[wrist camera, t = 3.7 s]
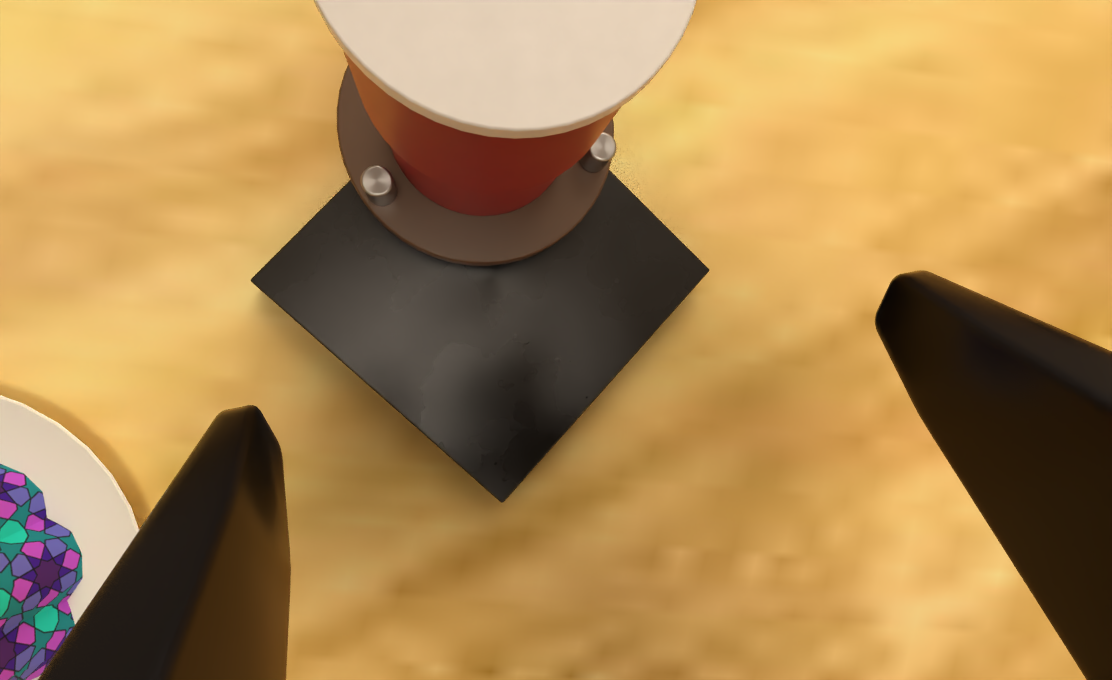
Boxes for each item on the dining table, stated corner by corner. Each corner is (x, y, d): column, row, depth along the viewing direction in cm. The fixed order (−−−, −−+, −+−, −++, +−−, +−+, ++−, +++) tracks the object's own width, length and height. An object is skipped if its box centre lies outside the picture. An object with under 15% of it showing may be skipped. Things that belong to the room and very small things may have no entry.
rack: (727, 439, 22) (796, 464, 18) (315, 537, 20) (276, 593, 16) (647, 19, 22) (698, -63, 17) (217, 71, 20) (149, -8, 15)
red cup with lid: (486, 277, 18) (520, 217, 9) (321, 123, 17) (192, -98, 8) (627, 127, 18) (780, -58, 10) (474, -27, 18) (497, -370, 9)
